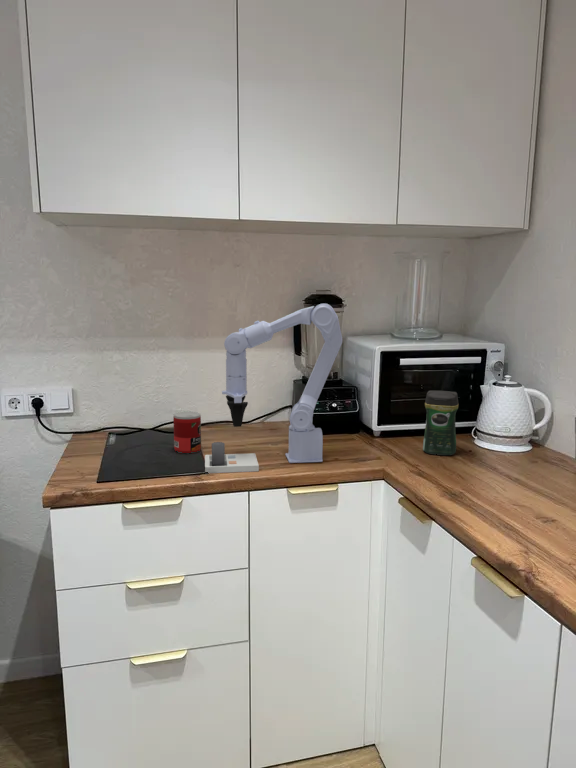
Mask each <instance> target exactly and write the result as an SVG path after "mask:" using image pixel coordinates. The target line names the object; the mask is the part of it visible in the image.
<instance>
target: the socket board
mask: <svg viewBox="0 0 576 768" xmlns="http://www.w3.org/2000/svg"><path fill="white" fill-rule="evenodd" d="M259 471H260V465H259V462H258V459H257V455H256V453H255V452H254V453H226V454H225V466H212V454H205V455H204V473H205V472H208V473H207V474H217V473H222V474H223V473H242V472H243V473H247V472H249V473H250V472H251V473H252V472H259Z"/></svg>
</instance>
